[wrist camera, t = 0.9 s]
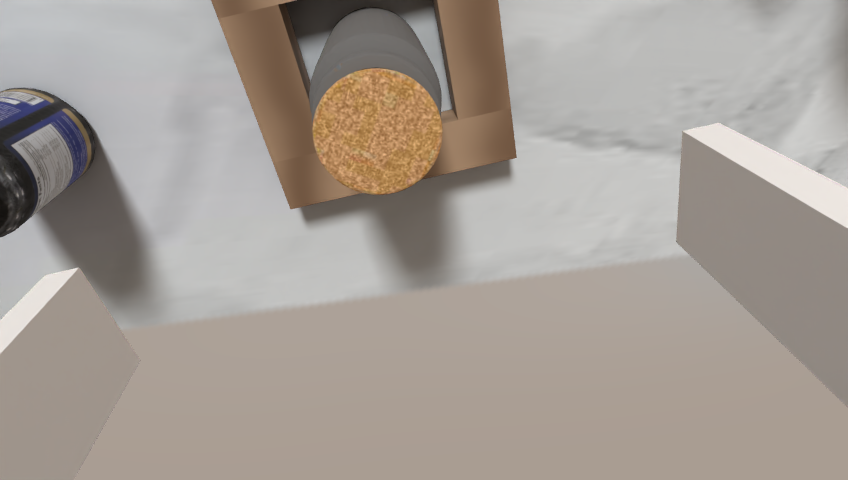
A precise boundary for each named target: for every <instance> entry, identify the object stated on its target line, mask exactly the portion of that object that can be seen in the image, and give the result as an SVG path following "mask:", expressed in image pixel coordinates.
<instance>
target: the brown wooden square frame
mask: <svg viewBox="0 0 848 480" xmlns="http://www.w3.org/2000/svg"><path fill="white" fill-rule="evenodd" d="M211 1H212V4H213V6H214V9H215V11H216V14H217V17H218V19H219V22H220V25H221V27H222V30H223V32H224V35H225V38H226V40H227V43H228V46H229V48H230V51H231V54H232V56H233V59H234V61H235V64H236V67H237V69H238V72H239V75H240V77H241V80H242V83H243V85H244V88H245V90H246V93H247V96H248V98H249V101H250V104H251V106H252V109H253V111H254V114H255V117H256V119H257V122H258V125H259V127H260V130H261V133H262V135H263V138H264V140H265V143H266V146H267V148H268V151H269V154H270V156H271V159H272V161H273V164H274V167H275V169H276V172H277V175H278V177H279V180H280V183H281V185H282V188H283V190H284V193H285V196H286V198H287V201H288V204H289V206H290V209H294V208H299V207H303V206H307V205H312V204H316V203H321V202H325V201H329V200H334V199H338V198H343V197H347V196H351V195H356V194H360V193H361V192H358V191H355V190H352V189H350V188H348V187H346V186H344V185H342V184H341V183H340V182H338V181H337V180H336V179H335V178H334V177H333V176H332V175H331V174H329V173H328V171H327V170H326V169H325V167H324V166H323V165H322V163H321V161H320V160H319V157H318V155H317V153H316V150H315V147H314V142H313V134H312V128H313V125H312V114H311V110H310V100H309V92H310V80H309V77H308V74H307V71H306V68H305V65H304V61H303V58H302V55H301V52H300V49H299V45H298V42H297V39H296V36H295V33H294V29H293V26H292V23H291V20H290V17H289V13H288V10H287V7H286V4H285V3H287V2H291V1H295V0H211ZM433 2H434V8H435V14H436V19H437V25H438V31H439V36H440V42H441V48H442V53H443V59H444V64H445V70H446V76H447V81H448V87H449V93H450V98H451V104H452V110H448V111H444V112H441V121H442V128H443V135H442V144H441V148H440V152H439V154H438V157H437V159H436V161H435V163H434V165H433V166H432V167H431V169H430V170H429V171H428V173H427V174H426V175H425V176H424V177H423V178H422V179H426V178H430V177H435V176H439V175H443V174H448V173H452V172H456V171H461V170H465V169H470V168H474V167H478V166H483V165H487V164H491V163H496V162H500V161H505V160H509V159H513V158H517V157H516V148H515V140H514V131H513V123H512V114H511V106H510V97H509V89H508V80H507V72H506V63H505V55H504V46H503V38H502V30H501V21H500V13H499V4H498V0H433Z"/></svg>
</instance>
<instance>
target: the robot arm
mask: <svg viewBox="0 0 848 480" xmlns="http://www.w3.org/2000/svg"><path fill="white" fill-rule="evenodd" d="M676 242H677V243H678V244H679V245H680V246H681V247H682V248H683V249H684V250H685V251H686V252H687V253H688V254H689V255H690V256H691V257H692V258H693V259H694V260H696V261H697V262H698V263H699V264H700V265H701V266H702V267H703V268H704V269H705V270H706V271H707V272H708V273H709V274H710V275H711V276H712V277H713V278H714V279H715V280H716V281H717V282H718V283H720V285H721V286H722V287H723V288H724V289H726V290H727V291H728V292H729V293H730V294H731V295H732V296H733V297H734V298H735V299H736V300H737V301H738V302H739V303H740V304H741V305H742V306H743V307H744V308H745V309H746V310H747V311H748V312H749V313H750V314H751V315H752V316H753V317H755V318H756V319H757V320H758V321H759V322H760V323H761V324H762V325H763V326H764V327H765V328H766V329H767V330H768V331H769V332H770V333H771V334H772V335H773V336H774V337H775V338H776V339H777V340H779V342H781V344H783V345H784V346H785V347H786V348H787V349H788V350H789V351H790V352H791V353H792V354H793V355H794V356H795V357H796V358H797V359H798V360H799V361H800V362H801V363H802V364H803V365H805V367H806V368H807V369H808V370H810V371H811V372H812V373H813V374H814V375H815V376H816V377H817V378H818V379H819V380H820V381H821V382H822V383H823V384H824V385H825V386H826V387H827V388H828V389H829V390H830V391H831V392H832V393H833V394H834V395H835V396H836V397H837V398H839V400H841V401H842V402H843V403H844V404H845V405H846V406H847V407H848V188H847V187H845V186H843V185H841V184H839V183H837V182H835V181H833V180H831V179H829V178H827V177H825V176H823V175H821V174H819V173H817V172H815V171H813V170H811V169H809V168H807V167H805V166H803V165H801V164H799V163H797V162H795V161H793V160H791V159H789V158H787V157H785V156H783V155H781V154H780V153H778V152H776V151H774V150H772V149H770V148H768V147H766V146H764V145H762V144H760V143H758V142H756V141H754V140H752V139H750V138H748V137H746V136H744V135H742V134H740V133H738V132H736V131H734V130H732V129H730V128H728V127H726V126H724V125H722V124H720V123H716V124H712V125H707V126H703V127H698V128H694V129H689V130H685V131H682V148H681V166H680V184H679V202H678V220H677V238H676ZM139 362H140V358H139V357H138V355H137V354H136V352H135V351H134V349H133V348H132V346H131V345H130V343H129V342H128V340H127V339H126V337H125V336H124V334H123V333H122V331H121V330H120V328H119V327H118V325H117V324H116V322H115V321H114V319H113V317H112V316H111V314H110V313H109V311H108V310H107V308H106V307H105V305H104V304H103V302H102V301H101V299H100V298H99V296H98V295H97V293H96V292H95V290H94V289H93V287H92V286H91V284H90V283H89V281H88V280H87V278H86V277H85V275H84V274H83V272H82V271H81V269H80V268H74V269H70V270H66V271H61V272H57V273H52V274H48V275H45V276H44V277H43V278H42V279H41V280H40V281H39V282H38V283H37V284H36V285H35V286H34V287H33V288H32V289H31V290H30V291H29V292H28V293H27V294H26V295H25V296H24V297H23V298H22V299H21V300H20V301H19V302H18V303H17V304H16V305H15V306H14V307H13V308H12V309H11V310H10V311H9V312H8V313H7V314H6V315H5V316H4V317H3V318H2V319H1V320H0V480H74V478H75V477H76V475H77V473H78V471H79V470H80V468H81V466H82V464H83V463H84V461H85V459H86V457H87V455H88V453H89V452H90V450H91V448H92V446H93V444H94V443H95V441H96V439H97V437H98V436H99V434H100V432H101V430H102V429H103V427H104V425H105V423H106V421H107V420H108V418H109V416H110V414H111V412H112V411H113V409H114V407H115V405H116V403H117V402H118V400H119V398H120V396H121V395H122V393H123V391H124V389H125V387H126V386H127V384H128V382H129V380H130V378H131V377H132V375H133V373H134V371H135V370H136V368H137V366H138V364H139Z"/></svg>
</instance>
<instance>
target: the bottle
mask: <svg viewBox="0 0 848 480" xmlns="http://www.w3.org/2000/svg"><path fill="white" fill-rule="evenodd" d="M309 100H310V110H311V114H312V125H313V128H312V134H313V142H314V147H315V150H316V153H317V155H318V157H319V160H320V161H321V163H322V165H323V166H324V167H325V169H326V170H327V171H328V173H329V174H331V175H332V176H333V177H334V178H335V179H336V180H337V181H338V182H340V183H341V184H342V185H344V186H346V187H348V188H350V189H352V190H355V191H358V192H361V193H365V194H372V195H385V194H391V193H395V192H399V191H402V190H405V189H406V188H408V187H410V186H412V185H414V184H415V183H417V182H418V181H419V180H421V179H422V178H423V177H424V176H425V175H426V174H427V173H428V171H429V170H430V169H431V167H432V166H433V165H434V163H435V161H436V159H437V157H438V154H439V152H440V148H441V144H442V135H443V128H442V121H441V88H440V84H439V79H438V77H437V74H436V72H435V69H434V67H433V65H432V63H431V61H430V59H429V58H428V56H427V54H426V52H425V50H424V48H423V47H422V45H421V43H420V41H419V39H418V37H417V36H416V34H415V32H414V31H413V30H412V28H411V27H410V26H409V25H408V23H407V22H406V21H405V20H403V19H402V18H401V17H399V16H398V15H397V14H395V13H393V12H391V11H388V10H385V9H382V8H373V7H372V8H363V9H359V10H356V11H353V12H352V13H350V14H348V15H346V16H345V17H344V18H343V19H341V20H340V21H339V22H338V23H337V25H336V26H335V27H334V29H333V30H332V32H331V34H330V36H329V38H328V40H327V42H326V44H325V46H324V49H323V51H322V53H321V56H320V58H319V60H318V63H317V65H316V68H315V71H314V73H313V76H312V80H311V84H310V92H309Z"/></svg>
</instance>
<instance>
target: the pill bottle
mask: <svg viewBox="0 0 848 480" xmlns="http://www.w3.org/2000/svg"><path fill="white" fill-rule="evenodd" d="M94 153H95V144H94V138H93V135H92V132H91V130H90V128H89V126H88V124H87V123H86V121H85V120H84V119H83V117H82V116H81V115H80V114H79V113H78V112H77V111H76V110H75V109H73V108H72V107H71V106H70V105H69V104H67V103H66V102H64V101H63V100H61V99H59V98H58V97H56V96H54V95H52V94H50V93H47V92H45V91H41V90H37V89H33V88H12V89H7V90H4V91H1V92H0V237H3V236H5V235H7V234H9V233H11V232H13V231H15V230H16V229H17V228H19V227H20V226H21V225H22V224H23V223H25V222H26V221H27V220H28V219H29V218H30V217H32V216H33V215H34V214H35V213H36V212H38V211H39V210H40V209H41V208H43V207H44V206H45V205H46V204H47V203H49V202H50V201H51V200H52V199H54V198H55V197H56V196H57V195H58V194H60V193H61V192H62V191H63V190H65V189H66V188H67V187H68V186H69V185H71V184H72V183H73V182H74V181H76V180H77V179H78V178H79V177H80V176H82V175H83V174H84V173H85V172H86V171H87V169H88V168H89V167H90V165H91V163H92V161H93V158H94Z"/></svg>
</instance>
